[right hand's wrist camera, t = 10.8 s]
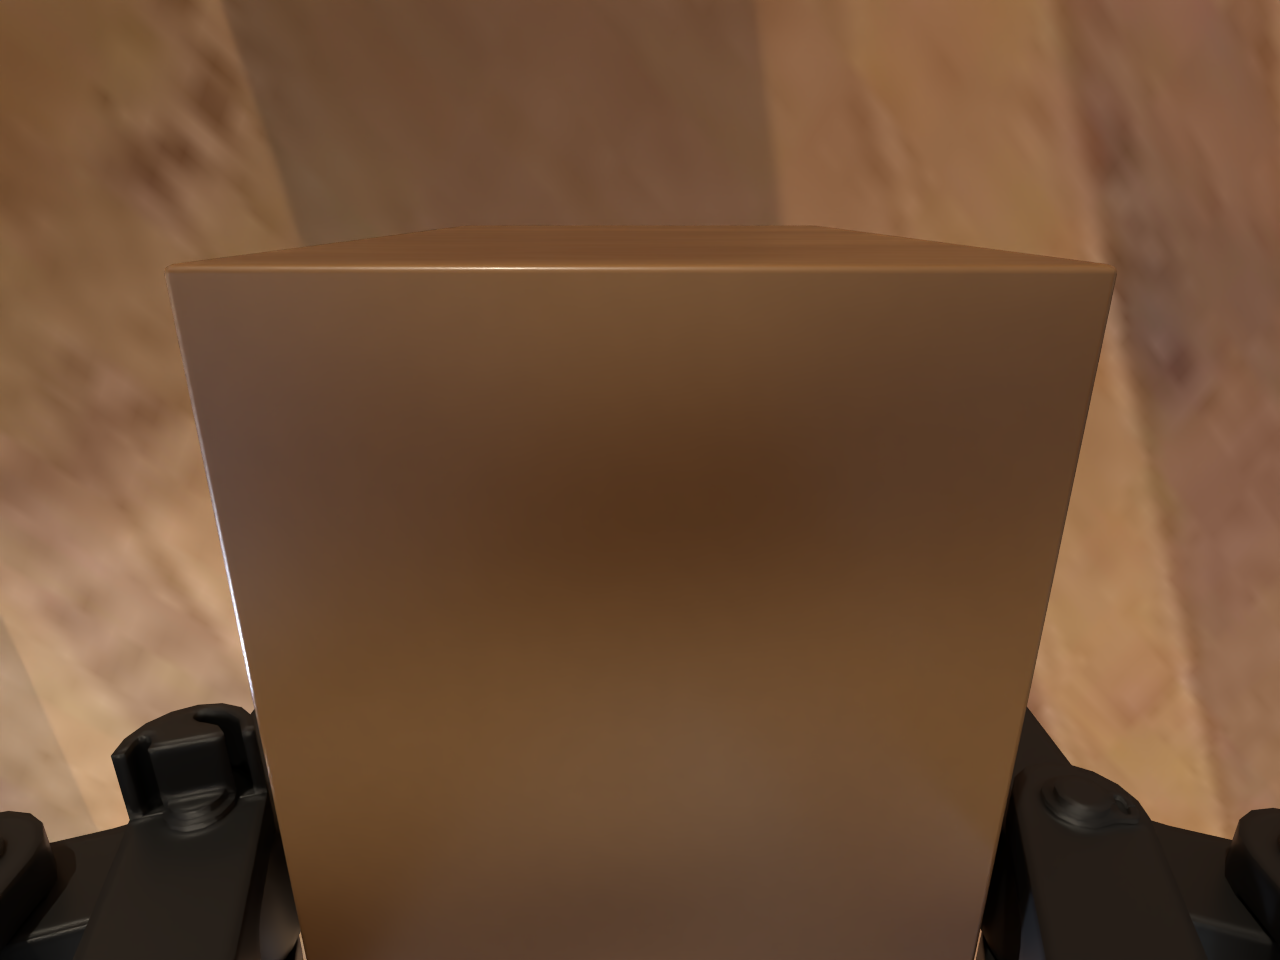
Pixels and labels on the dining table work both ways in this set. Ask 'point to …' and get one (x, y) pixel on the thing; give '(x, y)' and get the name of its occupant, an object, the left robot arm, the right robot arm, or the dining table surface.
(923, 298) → the beam
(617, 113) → the dining table surface
